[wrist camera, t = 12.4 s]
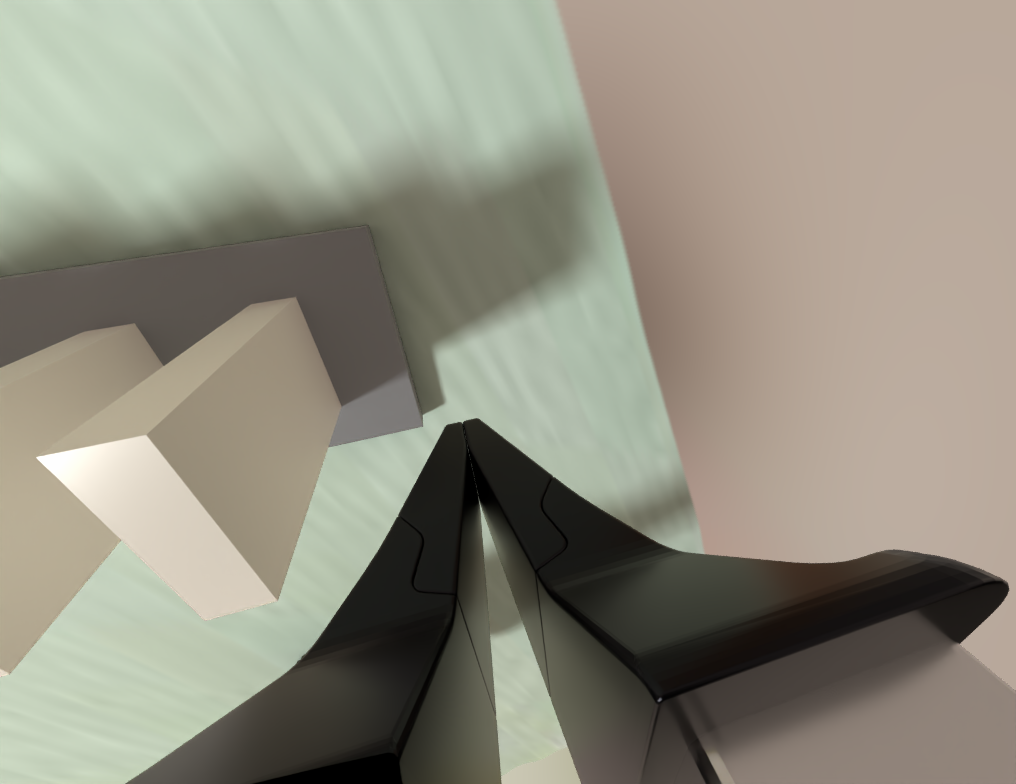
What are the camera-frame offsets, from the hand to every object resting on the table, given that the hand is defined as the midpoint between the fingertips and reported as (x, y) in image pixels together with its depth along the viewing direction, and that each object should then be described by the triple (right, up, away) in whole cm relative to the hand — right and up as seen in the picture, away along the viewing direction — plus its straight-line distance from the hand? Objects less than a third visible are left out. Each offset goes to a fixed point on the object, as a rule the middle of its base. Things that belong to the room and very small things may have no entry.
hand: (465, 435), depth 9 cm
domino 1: (-7, +2, +6) cm, 10 cm away
